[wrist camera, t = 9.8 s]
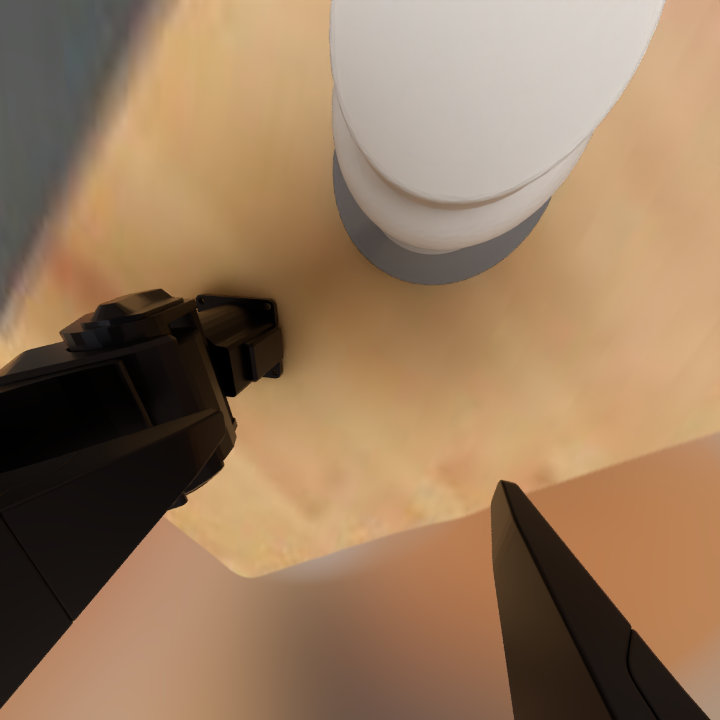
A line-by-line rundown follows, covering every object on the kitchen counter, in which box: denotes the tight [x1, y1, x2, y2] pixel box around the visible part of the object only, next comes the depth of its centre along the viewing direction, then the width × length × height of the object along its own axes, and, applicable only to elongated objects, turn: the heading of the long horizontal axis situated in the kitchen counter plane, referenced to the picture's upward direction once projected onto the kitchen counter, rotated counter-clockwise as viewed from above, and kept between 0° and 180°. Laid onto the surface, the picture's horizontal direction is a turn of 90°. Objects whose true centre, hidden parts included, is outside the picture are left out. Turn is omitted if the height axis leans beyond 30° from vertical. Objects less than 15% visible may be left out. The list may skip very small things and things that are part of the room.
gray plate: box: [333, 150, 552, 285], centre depth 16 cm, size 12×12×1 cm
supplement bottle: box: [329, 0, 666, 250], centre depth 10 cm, size 7×7×13 cm
